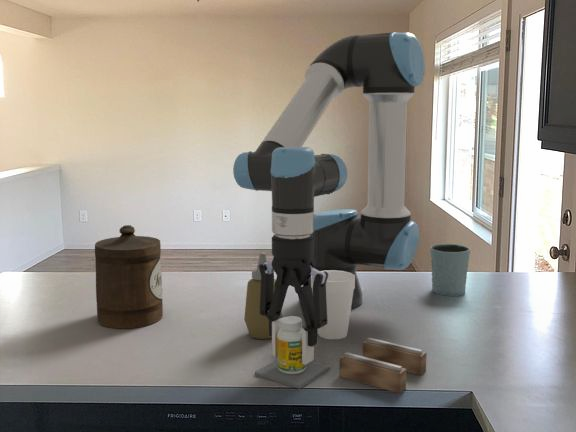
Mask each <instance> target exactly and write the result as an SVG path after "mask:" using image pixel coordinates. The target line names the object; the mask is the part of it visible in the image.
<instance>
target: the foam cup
mask: <svg viewBox="0 0 576 432" xmlns="http://www.w3.org/2000/svg"><path fill="white" fill-rule="evenodd" d="M325 271H326V272H327V273H328V278H327V282H326V300H327V321H328V322H327V324H326V325H324V326H323V327H321V328H319V329H317V336H319V337H320V338H322V339H326V340H340V339H344V338H346V337H347V335H348V330H349V324H350V317H351V310H352V308H351V305H352V298H353V291H354V289H355V275H354V274H352V273H350V272H345V271H337V270H325ZM320 272H324V271H320ZM311 288H312V292H313V282H312V276H311Z"/></svg>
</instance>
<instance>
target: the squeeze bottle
mask: <svg viewBox="0 0 576 432" xmlns="http://www.w3.org/2000/svg"><path fill="white" fill-rule="evenodd" d="M266 262H268V259H267V255H266V253H265V252H261V253H259V257H258V261H257V267H256V268H254V269H252V270H251V278H250V279H249V280H248V281H247V287H246V295H245V296H246V297H245V307H244V318H243V319H244V323H245V326H246V328H247V332H248V334H249V336H250V337H251V338H253V339H260V340H266V339H272V336H270V335H269V320H268V318H267V317H266V316H265V315H263V316H262V315H261V314H260V293H261V273H260V269H259V265H260V264H263V263H266ZM275 281H276V278H274V285H275ZM274 290H275V286H274V289H273V294H274ZM279 318H283V315H282V316H280V317H279Z"/></svg>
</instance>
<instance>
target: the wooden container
mask: <svg viewBox="0 0 576 432" xmlns="http://www.w3.org/2000/svg"><path fill="white" fill-rule="evenodd" d="M135 232H136V229H135V227H134V226H132V225H129V224H128V225H123V226H121V227H120V228H119V233H120V236H116V237H115V236H113V237H110V238H104V239H101V240H98V241H96V242H95V244H94V256H95V295H96V296H95V299H96V316H97V317H96V318H97V323H99V324H100V326H104V327H106V328H112V329H122V330H123V329H125V330H126V329H136V328H143V327H146V326H150V325H152V324H155V323H157V322H159V321H160V320H161V319H162V318H163V316H164V314H163V313H164V312H163V311H164V310H163V308H164V307H163V279H162V277H163V276H162V260H161V240H160V239H158V238H157V237H152V236H143V235H141V236H140V235H135Z"/></svg>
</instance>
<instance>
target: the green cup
mask: <svg viewBox="0 0 576 432" xmlns="http://www.w3.org/2000/svg"><path fill="white" fill-rule="evenodd" d="M429 250H430V258H431V259H430V261H431V262H430V264H431V267H430V268H431V276H432V277H431V282H432V283H431V287H432V288H431V289H432V292H433V293H435V294H437V295H442V296H447V297H456V296H457V297H458V296H462V295H465V293H466V284H467V278H468V276H467V275H468V267H469V262H470V261H469V260H470V255H471V254H470V253H471V248H470V247H468V246H466V245H463V244H457V243H438V244H437V243H436V244H433V245H430V249H429Z"/></svg>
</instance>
